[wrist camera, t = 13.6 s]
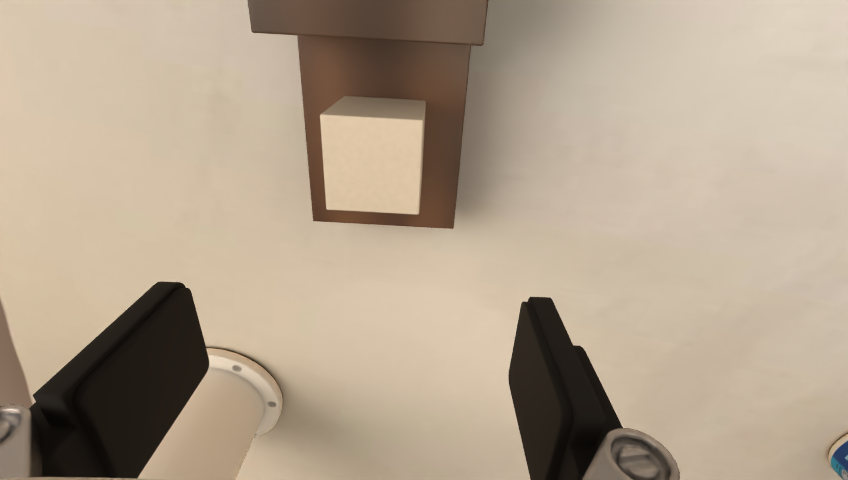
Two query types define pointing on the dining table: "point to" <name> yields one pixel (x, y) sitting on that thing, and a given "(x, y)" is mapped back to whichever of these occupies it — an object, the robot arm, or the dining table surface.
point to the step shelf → (384, 81)
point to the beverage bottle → (840, 457)
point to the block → (373, 154)
